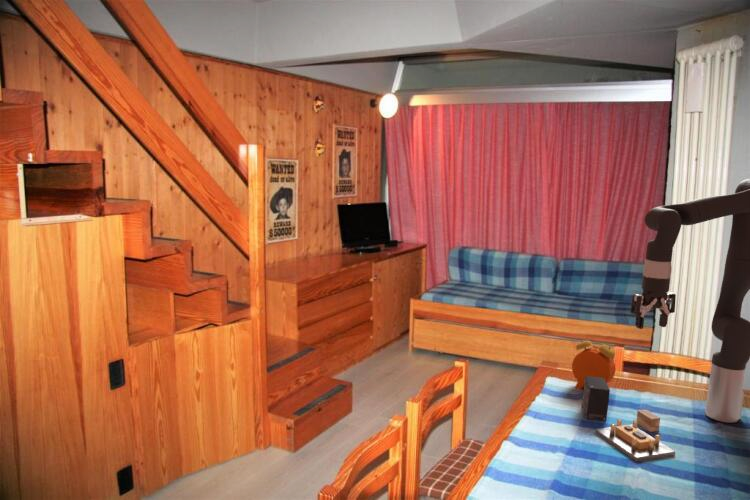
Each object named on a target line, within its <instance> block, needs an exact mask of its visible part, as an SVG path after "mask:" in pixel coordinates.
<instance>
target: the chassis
mask: <svg viewBox="0 0 750 500" xmlns="http://www.w3.org/2000/svg"><path fill="white" fill-rule="evenodd" d="M622 422H623V420H622V419H617V421H616V424H614V423H611V424H610V426H609V427H603V428H595V433H594V434H596V435H597V436H599V437H600V438H602V439H603V440H605V441H606V442H607V443H609V444H610V445H611V446H613V447H615V449H617V450H618V451H620V452H622V453H623V454H625V455H626V456H628V457H629V458H630V459H631V460H633V461H635V462H643V461H647V460H648V461H649V460H656V459H662V458H669V457H675V456H676V451H675V450H674V449H672V448H671V447H669V446H667V445H666V444H664V443H662V442H661V435H660V434H655V435H654V437H653V436H651V435H649V434H648V433H646V432H645V431H643V430H641V429H640V428H638V424H637V423H638V422H637V420H633V421H632V424H631V423H630V424H629V425H631V426H633V427H634V428H636V429H637V430H639V431H641V432H642V433H644V434H645V435H647V436H649V437H650V438H652V439H653V440H649V447H648V448H645V449H638V448H637V447H636V446H637V439H636V438H632V444H631V443H629V442H628V441H626V440H625V439H623V438H622V437H620V436H619V435H617V434H616V433H615V426H622V425H623V424H622ZM654 440H655V444H654ZM653 446H654V447H653Z"/></svg>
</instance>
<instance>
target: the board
mask: <svg viewBox="0 0 750 500" xmlns="http://www.w3.org/2000/svg"><path fill="white" fill-rule="evenodd" d="M615 433H616V434H617V435H619V436H620V437H622V438H623V439H625V440H626V441H628V442H629V443H631V444H632V438H636V439H637V446H636V447H637V448H638V449H645V448H648V447H649V440H653V439H652V438H650V437H649V436H647V435H645V434H644V433H642V432H641V431H639V430H637V429H636V428H634V427H633V426H631V425H630V424H624V425H623V424H621V426H617V425H615ZM654 444H655V440H654ZM653 447H654V446H653Z"/></svg>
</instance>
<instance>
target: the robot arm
mask: <svg viewBox="0 0 750 500" xmlns="http://www.w3.org/2000/svg"><path fill="white" fill-rule="evenodd" d="M727 216H732V222H731V230H730V236H729V243H728V248H727V249H728V250H727V253H726V258H725V264H724V270H723V271H724V272H723V277H722V281H721V287H720V292H719V298H718V301H717V304H716V308H715V310H714V314H713V317H712V321H711V331H712V335H713V336H714V337H715V338H716V339H718V340H720V341H721V347H720V351H717V352H715V353H713V354H712V357H711V365H710V371H709V372H710V373H709V380H708V389H707V396H706V403H705V410H704V414H705V416H707V417H708V418H710V419H712V420H715V421H719V422H723V423H737V422H738V421H739V420H741V418H742V413H743V412H742V411H743V405H744V404H743V403H744V397H745V390H744V383H745V375H746V368H747V364H748V363H749V361H750V321H749V320H748V319H746V318H743V317H741V315H742V314H741V313H742V307H743V302H744V300H745V296H747V294H748V292H749V291H750V178H746V179H744V180H742V181H740V182H739V183H738V185H737V186H736V188H735V191H734V193H730V194H721V195H712V196H705V197H699V198H696V199H695V198H694V199H692V200H688V201H685V202H682V203H676V204H675V203H674V204H669V205H668V204H667V205H660V206H656V207H654V208H651V209H649V211H647V213H646V214H645V216H644V223H645V225H646V227H647V228H648V229H650V230H652V231H655V232H656V236H655V238H654V239H651V240H649V241H648V242H647V243H646V253H645V261H644V265H643V270H642V281H641V289H642V292H641V294H637V293H633V295H632V300H631V306H630V313H631V314H633V315H635V328H637V329H639V330H643V329H644V326H645V325H644V323H645V317H644V316H645V315H646V314H647V313H648V312H650V311H651V310H654V309H658V310H659V312H660V314H659V321H658V325H659V327H662V328H667V325H668V321H669V316H670V315H671V313H672V314H674V313H675V312H676V311H675V310H676V301H677V300H676V298H677V297H676V296H677V295H676V293H674V292H670V287H671V275H672V266H673V265H672V261H673V260H672V259H673V251H674V246H675V244H676V241H677V239H678V236H679V235H680V231H681V229H682V226H692V225H696V224H697V225H698V224H700V223H704V222H708V221H711V220H712V221H713V220H715V219H720V218H723V217H727Z"/></svg>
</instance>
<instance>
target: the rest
mask: <svg viewBox="0 0 750 500" xmlns="http://www.w3.org/2000/svg"><path fill="white" fill-rule="evenodd" d="M636 421H637V422H638V423H637V425H638V426H640V427H642V428H644V429H645V430H647V431H649V432H651V433H653V432H659V430H660V424H661V423H660V421H661V418H660V417H659V416H657V415H655V414H653V413H652V412H650V411H649V410H647V409H640V410H637V413H636Z"/></svg>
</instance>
